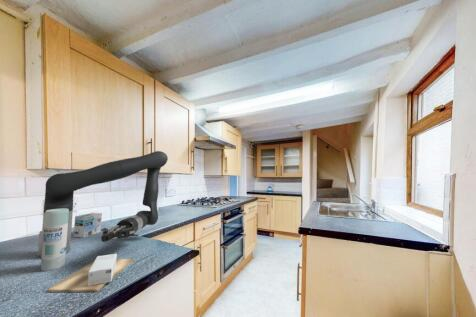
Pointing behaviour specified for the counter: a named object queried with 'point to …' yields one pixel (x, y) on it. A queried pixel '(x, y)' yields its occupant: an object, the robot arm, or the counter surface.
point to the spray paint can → (54, 239)
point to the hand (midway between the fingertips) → (103, 238)
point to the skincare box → (102, 269)
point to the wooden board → (85, 279)
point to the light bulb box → (87, 224)
